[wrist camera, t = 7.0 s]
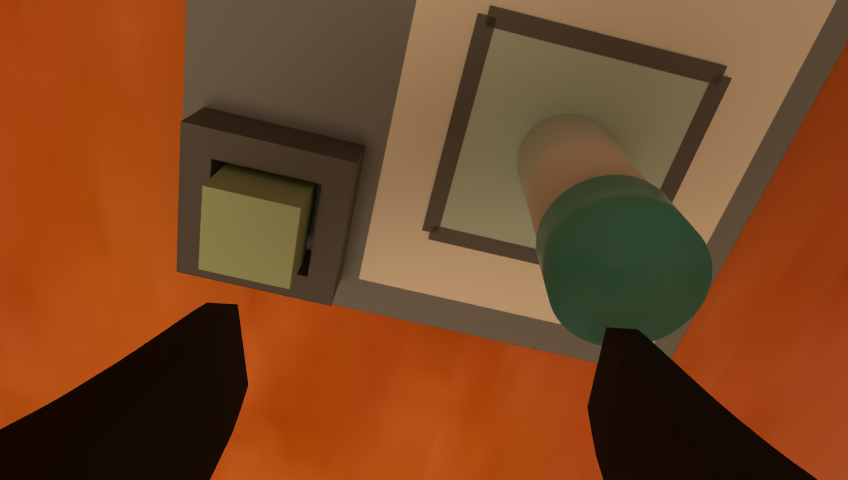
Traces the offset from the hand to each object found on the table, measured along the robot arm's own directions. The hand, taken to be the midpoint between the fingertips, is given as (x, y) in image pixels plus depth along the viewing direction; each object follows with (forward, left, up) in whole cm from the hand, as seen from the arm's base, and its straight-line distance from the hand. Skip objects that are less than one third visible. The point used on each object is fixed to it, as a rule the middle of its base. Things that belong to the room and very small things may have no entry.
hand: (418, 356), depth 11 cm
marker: (-4, -2, -10) cm, 11 cm away
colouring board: (-1, -3, -11) cm, 11 cm away
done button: (+5, +2, -9) cm, 10 cm away
